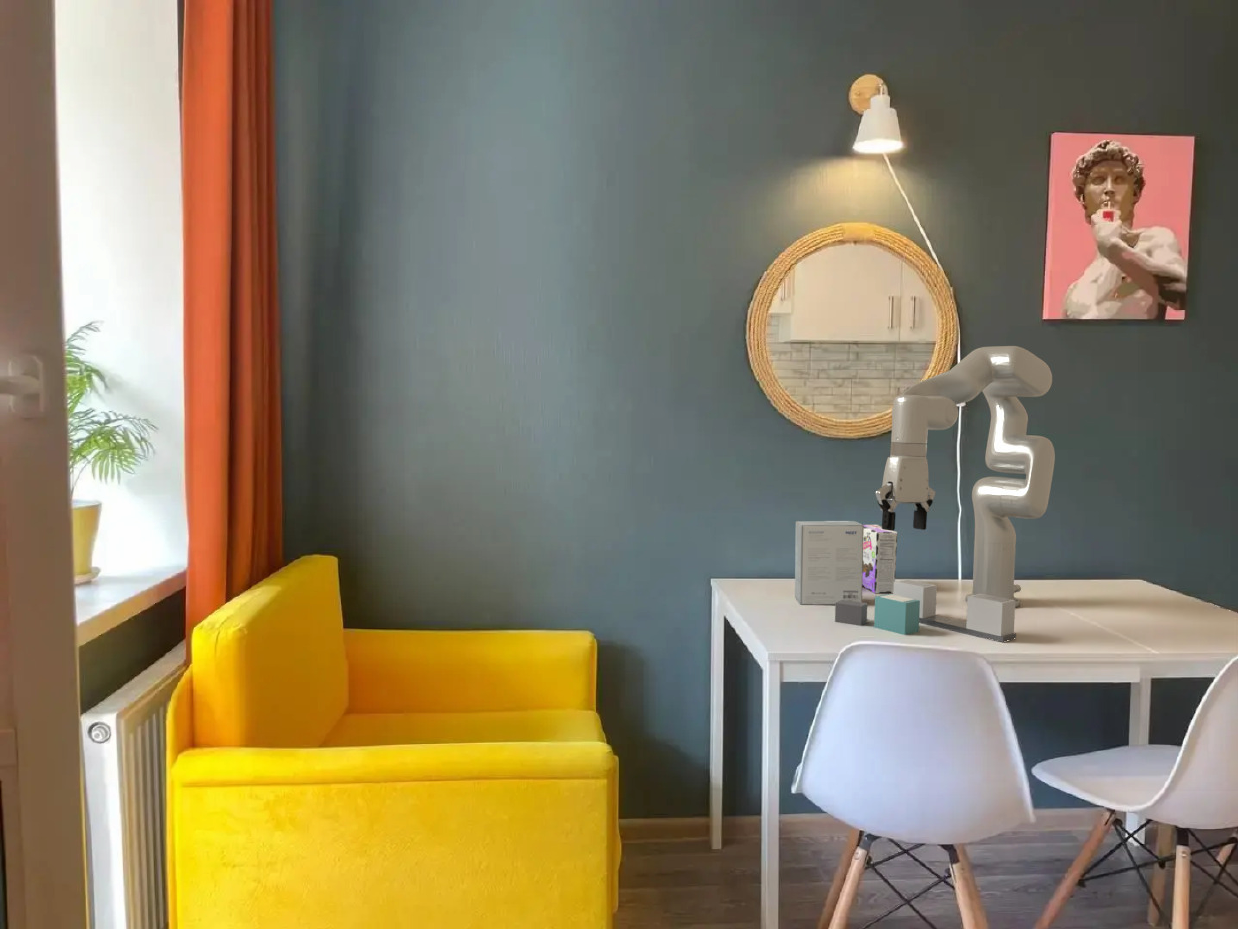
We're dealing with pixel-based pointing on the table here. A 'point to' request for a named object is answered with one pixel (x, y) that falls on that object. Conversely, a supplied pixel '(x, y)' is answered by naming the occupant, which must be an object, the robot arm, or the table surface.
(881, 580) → the candy box
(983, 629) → the block
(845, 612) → the dark grey block
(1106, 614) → the table surface
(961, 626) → the rail
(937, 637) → the table surface
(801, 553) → the hard drive box
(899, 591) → the block
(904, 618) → the block
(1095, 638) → the table surface
